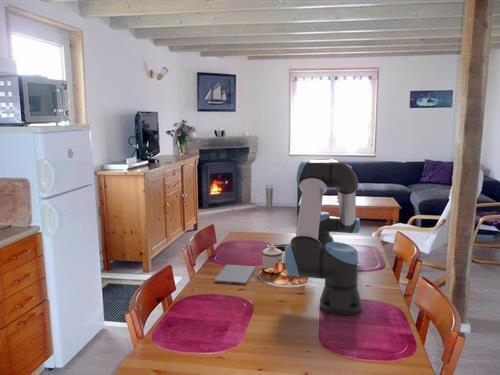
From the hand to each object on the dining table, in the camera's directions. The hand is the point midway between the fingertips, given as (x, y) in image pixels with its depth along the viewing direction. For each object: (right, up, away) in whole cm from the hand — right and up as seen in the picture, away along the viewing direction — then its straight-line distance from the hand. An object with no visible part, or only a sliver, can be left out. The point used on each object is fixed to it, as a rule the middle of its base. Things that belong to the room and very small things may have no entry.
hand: (274, 255), depth 201 cm
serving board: (-17, -8, -6) cm, 20 cm away
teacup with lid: (-1, -7, 0) cm, 7 cm away
